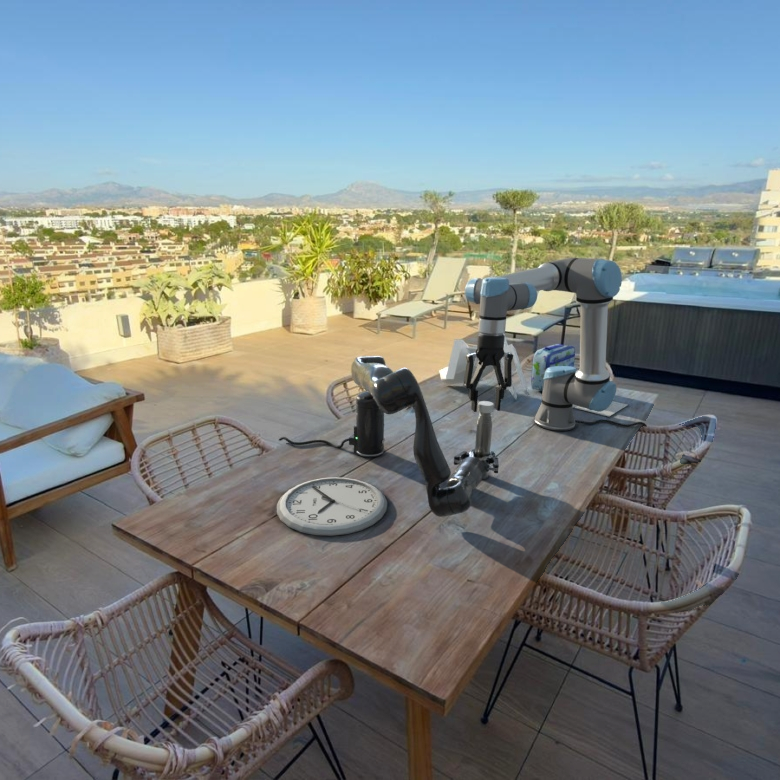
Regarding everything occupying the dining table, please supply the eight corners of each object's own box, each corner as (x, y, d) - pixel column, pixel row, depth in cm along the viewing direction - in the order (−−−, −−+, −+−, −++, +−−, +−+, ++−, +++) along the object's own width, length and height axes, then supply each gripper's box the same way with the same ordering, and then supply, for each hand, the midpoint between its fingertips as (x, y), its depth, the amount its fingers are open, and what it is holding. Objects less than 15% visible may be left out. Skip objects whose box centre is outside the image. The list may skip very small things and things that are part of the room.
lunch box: (547, 396, 238) (552, 351, 232) (526, 391, 246) (531, 347, 239) (574, 385, 256) (579, 343, 250) (554, 380, 263) (559, 340, 257)
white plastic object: (461, 429, 252) (437, 405, 227) (444, 352, 274) (420, 323, 250) (535, 404, 240) (518, 377, 215) (510, 326, 262) (492, 293, 237)
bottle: (488, 473, 163) (494, 403, 156) (487, 479, 159) (493, 408, 152) (473, 471, 164) (478, 401, 157) (472, 477, 160) (477, 406, 153)
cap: (477, 407, 158) (478, 400, 157) (492, 408, 157) (493, 401, 156) (478, 412, 153) (478, 405, 153) (493, 413, 153) (494, 406, 152)
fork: (403, 410, 217) (403, 406, 216) (415, 399, 231) (415, 395, 231) (409, 411, 216) (409, 406, 215) (420, 400, 230) (420, 395, 230)
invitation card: (608, 416, 214) (573, 407, 224) (608, 416, 214) (573, 408, 224) (628, 404, 229) (594, 396, 238) (628, 405, 229) (594, 397, 238)
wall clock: (392, 527, 129) (268, 531, 127) (391, 533, 130) (269, 537, 127) (383, 473, 158) (282, 475, 155) (383, 478, 158) (282, 480, 156)
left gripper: (494, 467, 143) (508, 445, 158) (444, 457, 149) (462, 437, 164) (492, 492, 145) (506, 468, 160) (443, 481, 151) (461, 459, 166)
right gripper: (518, 330, 153) (511, 404, 160) (454, 331, 150) (450, 407, 157) (529, 335, 146) (521, 412, 153) (462, 336, 143) (457, 415, 150)
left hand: (484, 452), depth 162 cm, fingers closed on bottle, 4 cm apart
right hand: (485, 409), depth 155 cm, fingers open, 7 cm apart
